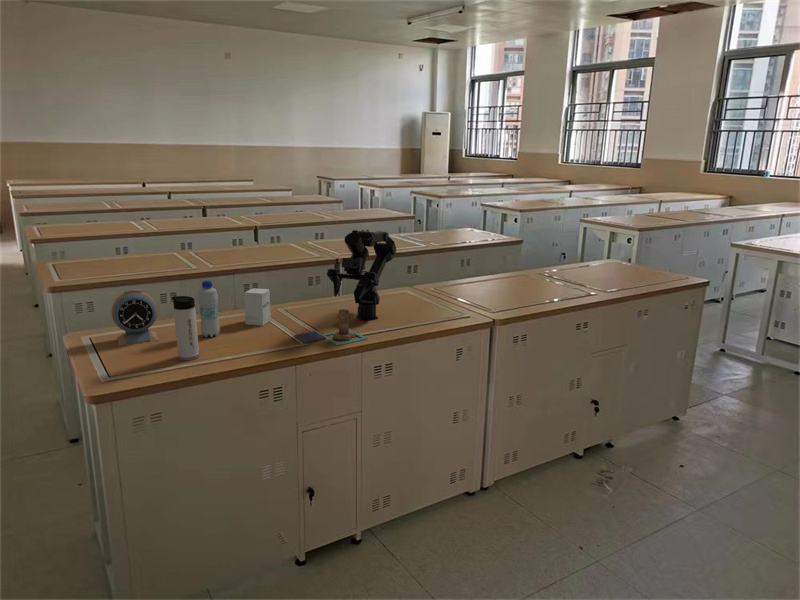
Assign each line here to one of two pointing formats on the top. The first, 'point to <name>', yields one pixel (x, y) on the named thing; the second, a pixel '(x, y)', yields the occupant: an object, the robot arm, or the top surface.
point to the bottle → (208, 309)
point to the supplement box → (257, 306)
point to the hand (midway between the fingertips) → (346, 297)
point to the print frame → (346, 341)
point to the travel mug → (186, 327)
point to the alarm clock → (135, 317)
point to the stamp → (344, 327)
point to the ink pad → (310, 337)
